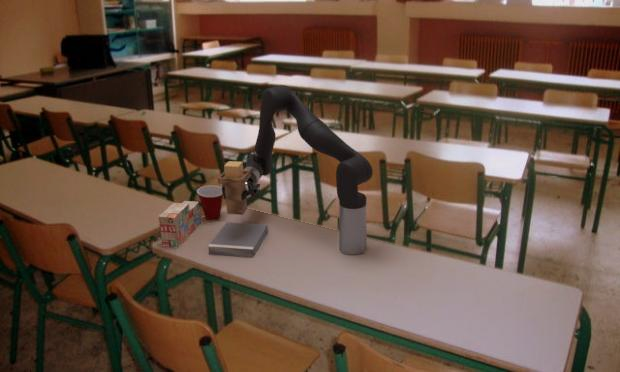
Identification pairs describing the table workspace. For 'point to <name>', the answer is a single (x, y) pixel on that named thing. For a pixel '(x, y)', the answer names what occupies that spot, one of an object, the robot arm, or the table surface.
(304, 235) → the table surface
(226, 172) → the carton
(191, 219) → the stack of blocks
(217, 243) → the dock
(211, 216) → the plastic cup
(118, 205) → the table surface
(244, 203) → the stand
